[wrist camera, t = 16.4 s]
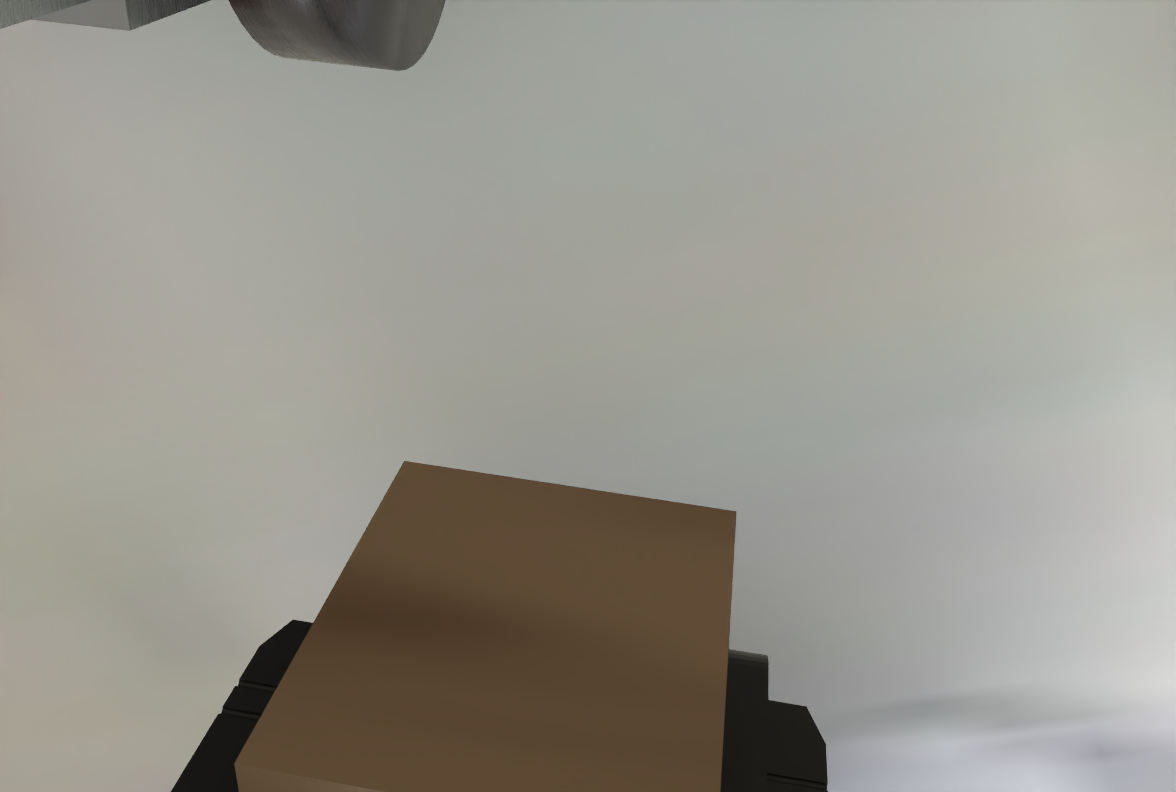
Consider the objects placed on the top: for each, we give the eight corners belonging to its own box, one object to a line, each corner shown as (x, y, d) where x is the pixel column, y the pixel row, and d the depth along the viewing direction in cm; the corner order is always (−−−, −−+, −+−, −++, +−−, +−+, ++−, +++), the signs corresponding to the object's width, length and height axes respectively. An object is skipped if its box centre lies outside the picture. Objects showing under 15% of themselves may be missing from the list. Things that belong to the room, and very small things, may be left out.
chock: (685, 791, 14) (652, 1151, 11) (412, 742, 15) (285, 1071, 11) (736, 511, 12) (717, 853, 8) (404, 460, 12) (235, 763, 8)
